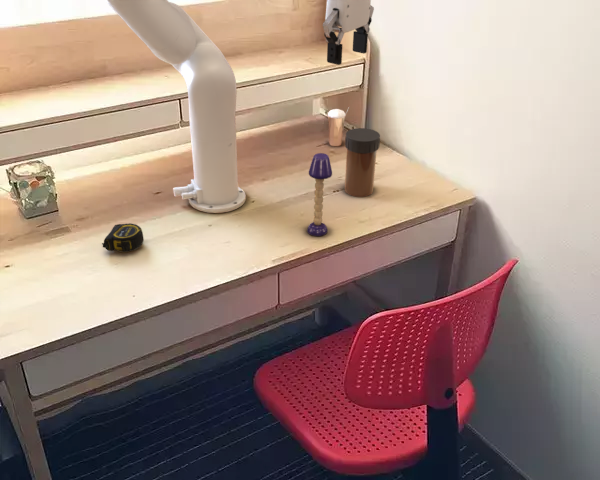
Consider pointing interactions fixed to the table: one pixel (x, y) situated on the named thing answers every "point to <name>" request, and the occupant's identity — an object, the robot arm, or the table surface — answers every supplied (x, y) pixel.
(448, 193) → the table surface
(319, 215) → the toy lamp
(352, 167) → the jar
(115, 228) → the tape measure
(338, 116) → the milkshake
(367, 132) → the cap
